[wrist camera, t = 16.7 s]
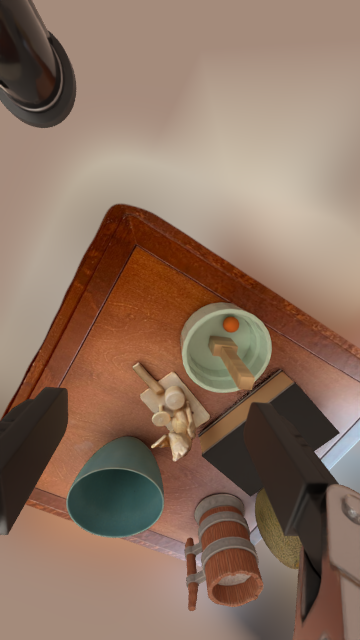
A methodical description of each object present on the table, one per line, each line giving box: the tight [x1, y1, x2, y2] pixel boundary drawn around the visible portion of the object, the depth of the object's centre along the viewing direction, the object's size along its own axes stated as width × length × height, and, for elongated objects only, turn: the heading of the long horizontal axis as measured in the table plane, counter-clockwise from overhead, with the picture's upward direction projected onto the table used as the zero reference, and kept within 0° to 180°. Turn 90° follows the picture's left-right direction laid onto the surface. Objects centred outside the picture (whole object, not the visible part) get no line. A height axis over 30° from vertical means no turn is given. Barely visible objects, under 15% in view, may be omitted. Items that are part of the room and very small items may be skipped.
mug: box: [185, 493, 263, 611], centre depth 52 cm, size 14×19×15 cm
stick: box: [208, 335, 255, 390], centre depth 37 cm, size 2×4×16 cm, turn 82°
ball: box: [223, 317, 239, 333], centre depth 42 cm, size 3×3×3 cm
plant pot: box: [66, 436, 164, 538], centre depth 46 cm, size 18×18×12 cm
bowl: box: [180, 302, 272, 393], centre depth 42 cm, size 17×17×7 cm
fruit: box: [255, 488, 302, 569], centre depth 51 cm, size 11×11×15 cm
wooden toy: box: [132, 363, 210, 461], centre depth 42 cm, size 22×10×14 cm, turn 34°
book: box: [198, 369, 339, 496], centre depth 49 cm, size 17×25×7 cm
